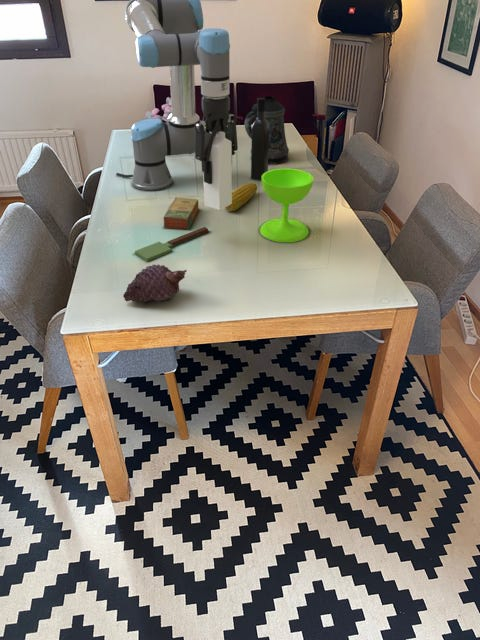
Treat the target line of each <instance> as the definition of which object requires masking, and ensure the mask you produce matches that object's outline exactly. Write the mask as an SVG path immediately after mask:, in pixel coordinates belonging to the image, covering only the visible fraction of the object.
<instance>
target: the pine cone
mask: <svg viewBox="0 0 480 640" xmlns="http://www.w3.org/2000/svg"><path fill="white" fill-rule="evenodd" d="M186 273H187V269H184V270H174V271H172V270H171V269H169V267H167V266H165V265H164V264H162V265H161V264H155V263H154V264H152V265H149V266H146V267H145V268H142V269H141V271H140V272H138V273H136V274H135V277H134V279H133V280H132V281H131V282H130V283H128V284H127V287H126V290H125V292H124V293H123V296H122V297H123V299H124V301H125V302H130V301H131V302H133V303H135V302H137V303H139V302H144V303H145V302H149V301H150V302H152V300H154V301H156V302H161V301H166V300H169V299H170V298H173V297H174V295H176V294H178V292H179V291H180V282H181V281H182V280H184V279H185V278H186V277H185V276H186Z"/></svg>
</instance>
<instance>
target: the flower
mask: <svg viewBox="0 0 480 640" xmlns="http://www.w3.org/2000/svg"><path fill="white" fill-rule="evenodd" d="M161 110H162V111H163V112H164V113H163V116H161V115H159V114H158V113H159V112H160V109H159V108H156V107H155V108H154V109H153V110H151V111H146V113H145V116H144V118H143V119H142V120H145V119H151V118H154V119H156V118H157V119H161V120H162V121H165V122H166V123H168V116H169V115H170V114H171V113H172V106H171V97H169V96H168V97H166V100H165V104H162V105H161Z"/></svg>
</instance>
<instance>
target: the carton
mask: <svg viewBox="0 0 480 640" xmlns="http://www.w3.org/2000/svg"><path fill="white" fill-rule="evenodd" d="M198 211H199V199H198V198H189V197H174V200H173V201H172V202H171V204H170V206H169V207H168V209H167V211H166V212H165V214H164V216H163V227H164V229H174V230H189V229H190V227H191V225H192V223H193V221H194V219H195V217H196V215H197V213H198Z"/></svg>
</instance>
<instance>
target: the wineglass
mask: <svg viewBox="0 0 480 640" xmlns="http://www.w3.org/2000/svg"><path fill="white" fill-rule="evenodd" d="M261 179H262V180H261V186H262V188H263V191H264V193H265V194H266V195H267V196H268V197H269V199H271V200H272V201H273V202H276V203H278V204H280V205H282V212H281V215H282V216H281V218H273V219H270V220H268V221H266V222H264V223H263V224H262V225H261V226H260V228H259V233H260V235H261V236H262V237H263V238H264V239H267V240H269V241H271V242H272V241H273V242H277V243H296V242H299V241H302V240H304V239H306V238H307V237H308V236H309V234H310V231H309V228H308V226H307V225H306V224H304V222H302V221H299V220H297V219H293V218H289V207H290V205H294V204H296V203H298V202H300V201H302V200H304V198H306V196H308V195H309V193H310V191H311V189H312V187H313V183H314V176H313V175H312V174H311V173H309V172H308V171H306V170H301V169H296V168H288V167H287V168H286V167H285V168H274V169H271V170H270V169H269V170H268V171H267V172H265V173H264V174H263V175H262V177H261Z"/></svg>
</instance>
